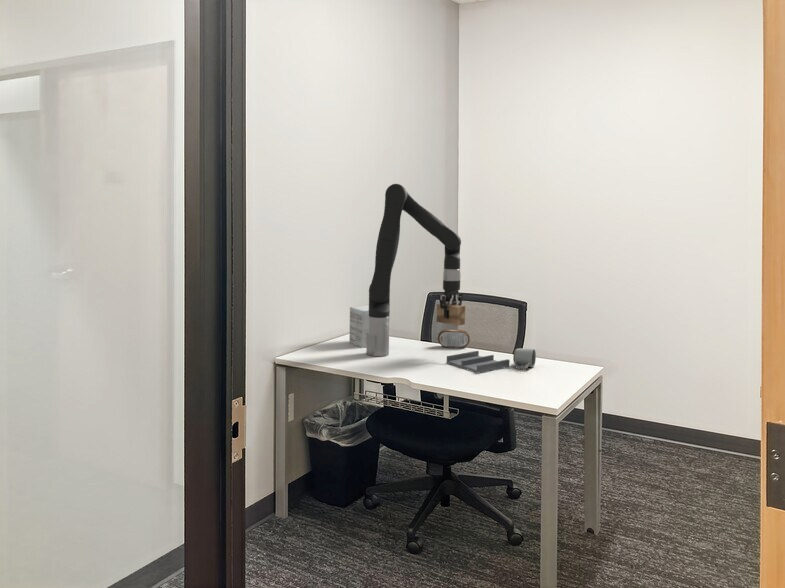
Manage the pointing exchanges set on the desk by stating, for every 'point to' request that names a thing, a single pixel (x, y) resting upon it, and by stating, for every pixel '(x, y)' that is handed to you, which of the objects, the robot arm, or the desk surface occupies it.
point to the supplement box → (359, 325)
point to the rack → (476, 362)
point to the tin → (453, 338)
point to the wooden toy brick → (452, 315)
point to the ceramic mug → (524, 358)
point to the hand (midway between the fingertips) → (450, 317)
